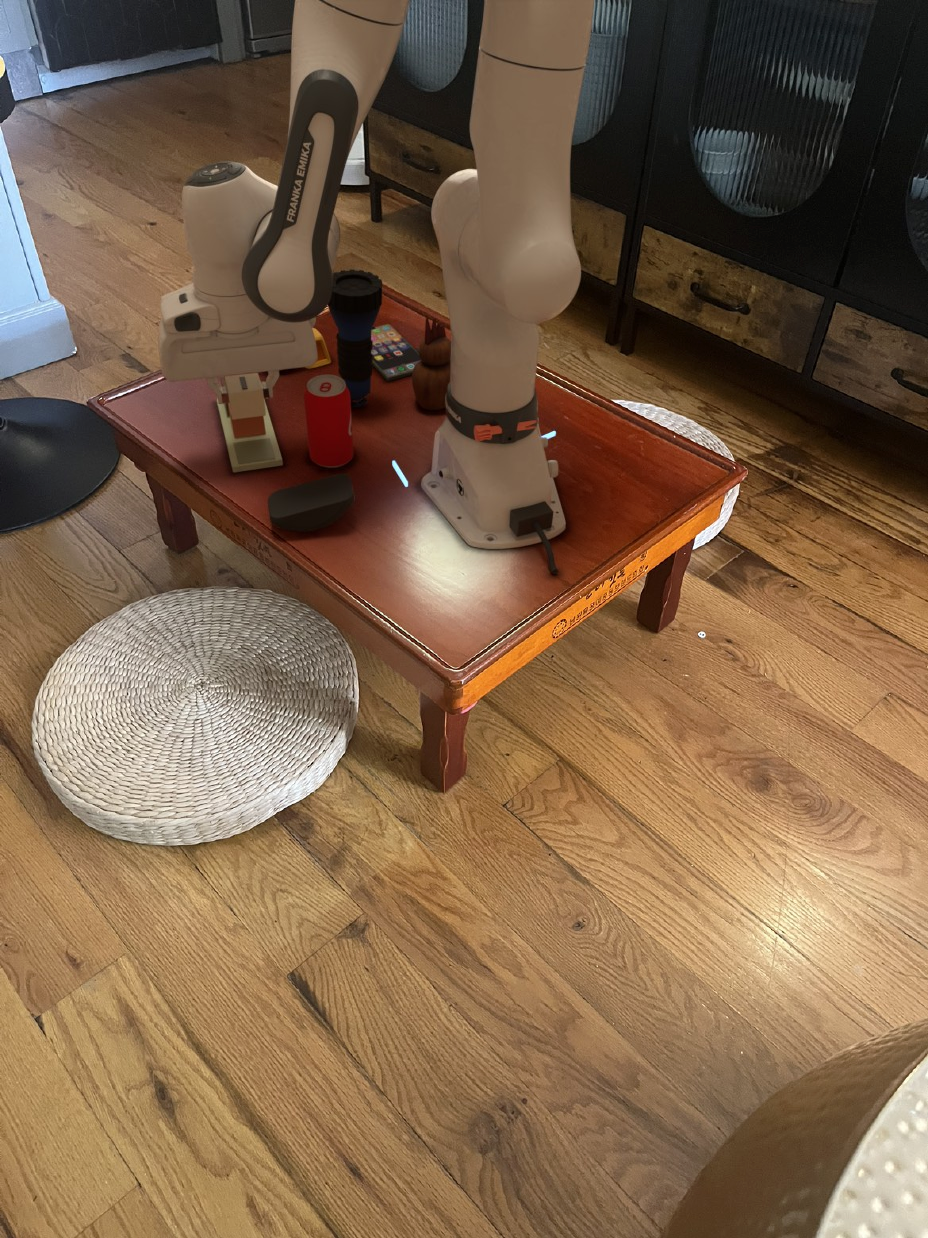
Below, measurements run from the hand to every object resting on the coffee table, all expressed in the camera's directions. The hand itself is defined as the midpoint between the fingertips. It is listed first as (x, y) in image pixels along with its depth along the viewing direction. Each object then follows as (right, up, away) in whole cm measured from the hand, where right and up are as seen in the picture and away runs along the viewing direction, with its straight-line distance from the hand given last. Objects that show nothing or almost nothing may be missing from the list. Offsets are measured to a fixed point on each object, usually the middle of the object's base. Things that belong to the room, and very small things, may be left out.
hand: (245, 398), depth 127 cm
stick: (+23, +13, +28) cm, 39 cm away
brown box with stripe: (-4, +2, +14) cm, 14 cm away
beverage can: (+11, -7, +7) cm, 15 cm away
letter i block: (0, -1, +1) cm, 2 cm away
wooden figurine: (+25, +3, +18) cm, 31 cm away
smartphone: (+17, +14, +28) cm, 36 cm away
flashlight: (+14, +3, +17) cm, 22 cm away
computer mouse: (+10, -14, -6) cm, 18 cm away
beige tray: (-2, -3, +11) cm, 11 cm away
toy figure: (+2, +11, +25) cm, 27 cm away
